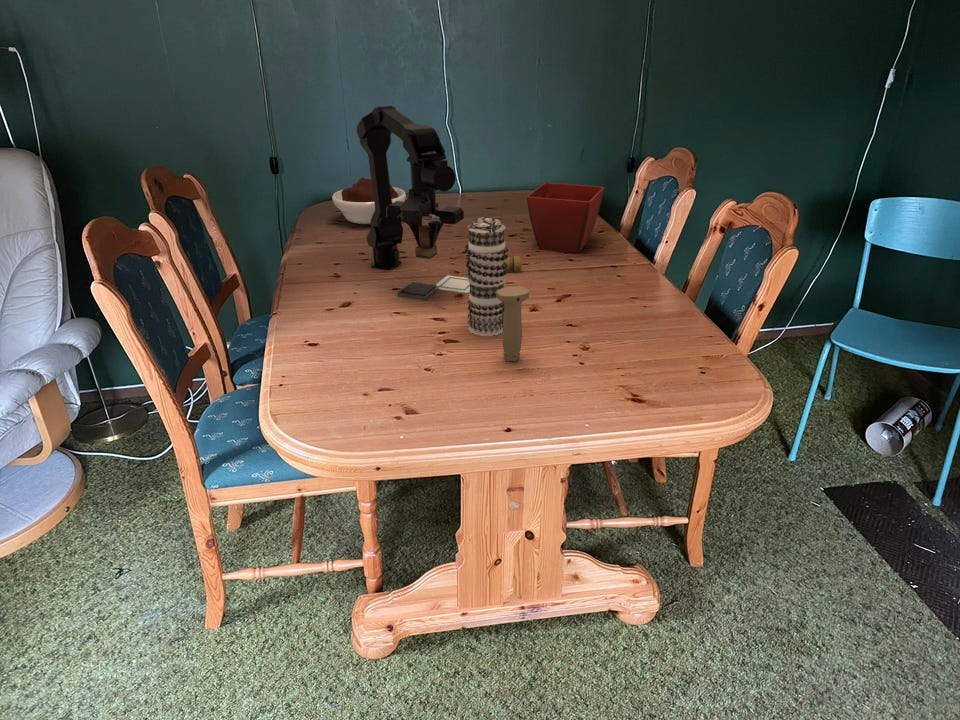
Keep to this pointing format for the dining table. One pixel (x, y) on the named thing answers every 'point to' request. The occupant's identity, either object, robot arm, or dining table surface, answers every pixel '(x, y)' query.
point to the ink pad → (418, 291)
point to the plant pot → (563, 215)
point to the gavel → (513, 264)
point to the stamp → (425, 244)
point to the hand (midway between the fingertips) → (426, 246)
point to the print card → (454, 284)
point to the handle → (512, 320)
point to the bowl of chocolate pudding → (361, 201)
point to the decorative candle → (486, 275)
